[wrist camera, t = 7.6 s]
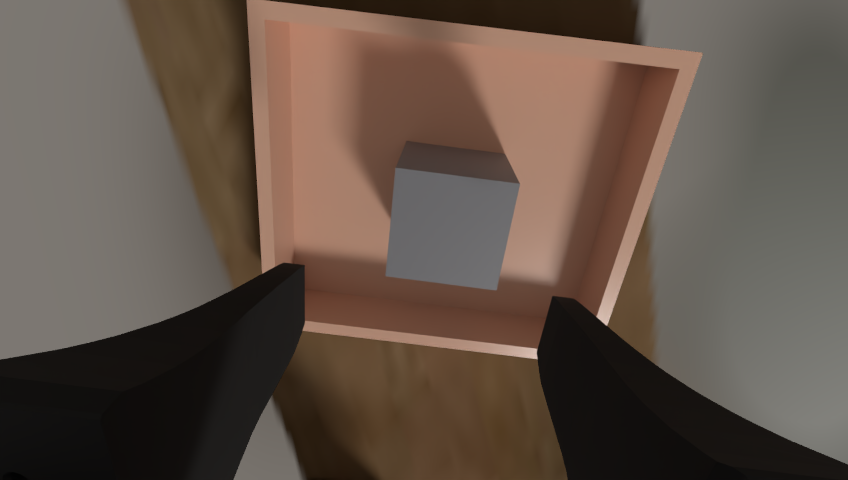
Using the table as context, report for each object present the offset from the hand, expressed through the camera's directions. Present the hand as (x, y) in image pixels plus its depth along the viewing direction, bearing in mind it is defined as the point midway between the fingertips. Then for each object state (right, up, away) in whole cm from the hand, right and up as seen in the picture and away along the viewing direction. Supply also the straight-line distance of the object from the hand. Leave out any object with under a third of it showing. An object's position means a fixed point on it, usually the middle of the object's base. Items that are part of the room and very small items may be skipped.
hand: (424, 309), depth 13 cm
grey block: (+1, +4, +8) cm, 9 cm away
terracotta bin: (+1, +4, +8) cm, 9 cm away
